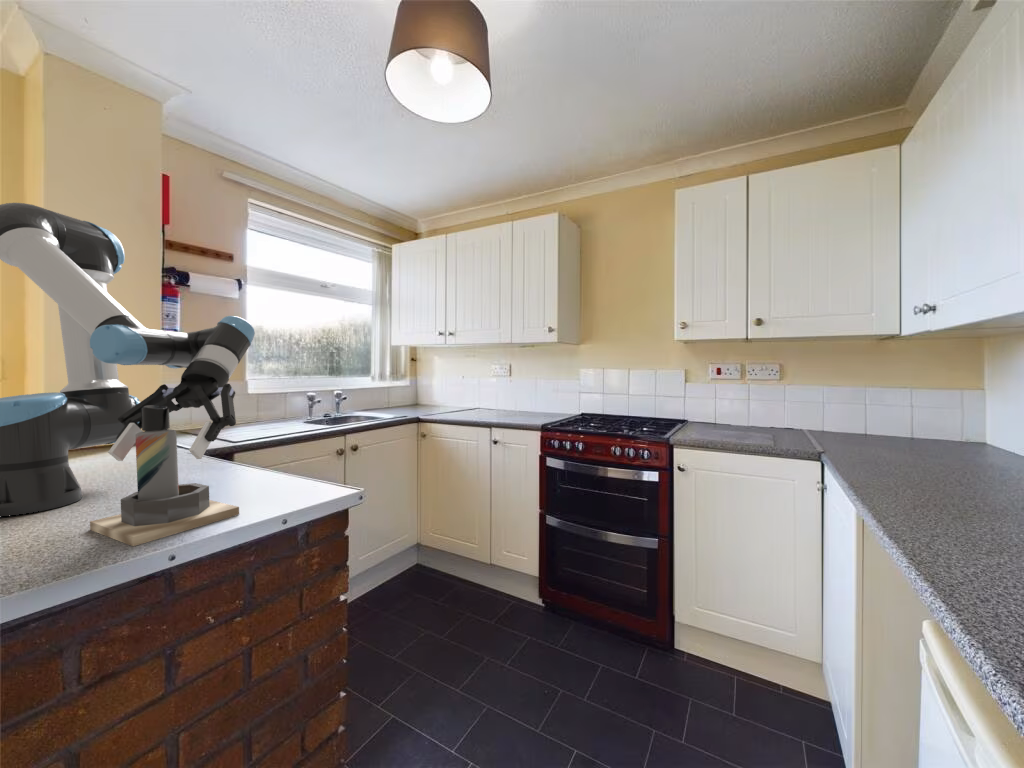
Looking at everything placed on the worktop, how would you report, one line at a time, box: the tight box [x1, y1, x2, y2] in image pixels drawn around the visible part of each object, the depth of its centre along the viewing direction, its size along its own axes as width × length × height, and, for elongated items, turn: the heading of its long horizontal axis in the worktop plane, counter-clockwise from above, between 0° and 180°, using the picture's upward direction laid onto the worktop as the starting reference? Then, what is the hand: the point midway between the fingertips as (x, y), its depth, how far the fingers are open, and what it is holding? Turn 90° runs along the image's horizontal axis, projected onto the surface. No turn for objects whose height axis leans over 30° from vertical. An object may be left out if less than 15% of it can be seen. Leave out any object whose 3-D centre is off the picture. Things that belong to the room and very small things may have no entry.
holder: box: [89, 482, 240, 547], centre depth 75 cm, size 16×16×6 cm
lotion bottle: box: [135, 405, 179, 500], centre depth 75 cm, size 6×6×20 cm
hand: (155, 455), depth 73 cm, fingers open, 13 cm apart
